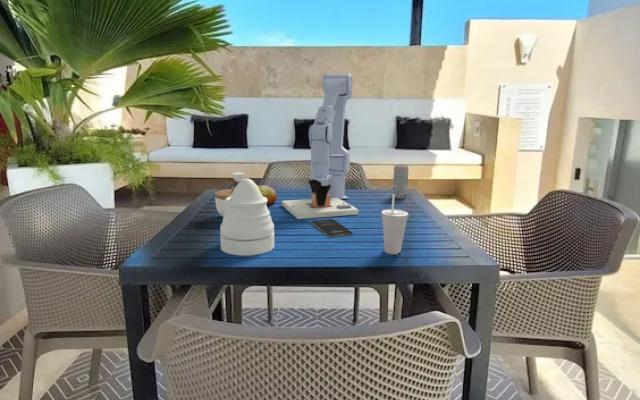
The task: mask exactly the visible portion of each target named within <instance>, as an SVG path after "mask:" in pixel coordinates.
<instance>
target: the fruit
mask: <svg viewBox="0 0 640 400" xmlns="http://www.w3.org/2000/svg"><path fill="white" fill-rule="evenodd" d="M256 185H257V184H256ZM257 187H258V188H259V190H260V192H261V194H262V196H264V197H266V198H267V200H268V201H267V203H266V205H267V206H270V205H274V204H275V203H276V201H277V199H278V196H277V192H276V191H275V189H274V188H272V187H270V186H269V185H257Z"/></svg>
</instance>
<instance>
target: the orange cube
mask: <svg viewBox="0 0 640 400" xmlns="http://www.w3.org/2000/svg"><path fill="white" fill-rule="evenodd" d="M311 199H312V204H311V205H312V206H313V207H312V208H324V207H330V195H329V194H327V197H326V201H325V205H324V206H318V204H317V199H316V193H312V192H311Z"/></svg>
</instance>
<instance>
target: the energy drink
mask: <svg viewBox="0 0 640 400" xmlns="http://www.w3.org/2000/svg"><path fill="white" fill-rule="evenodd" d="M392 177H393V178H392V179H393V180H392V181H393V182H392V194H395V199H400V200H401V199H406V198H408V197H407V196H408V195H407V194H408V181H409V165H408V164H395V165H394V167H393V176H392ZM392 194H391V195H392Z"/></svg>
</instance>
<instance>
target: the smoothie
mask: <svg viewBox="0 0 640 400" xmlns="http://www.w3.org/2000/svg"><path fill="white" fill-rule="evenodd" d="M391 195H392V196H391V209H384V210H382V211H381V214H380V218H382V231H383V234H382V235H383V247H384V252H385V253H386V254H388V253H389V254H388V255H394V254H395V255H399V254H398V253H400V254H401V250H402V246H403V240H404V236H405V230H406V226H407V221H408V219H410V218H409V212H407V211H405V210H401V209H395V199H396V198H395V194H391Z"/></svg>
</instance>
